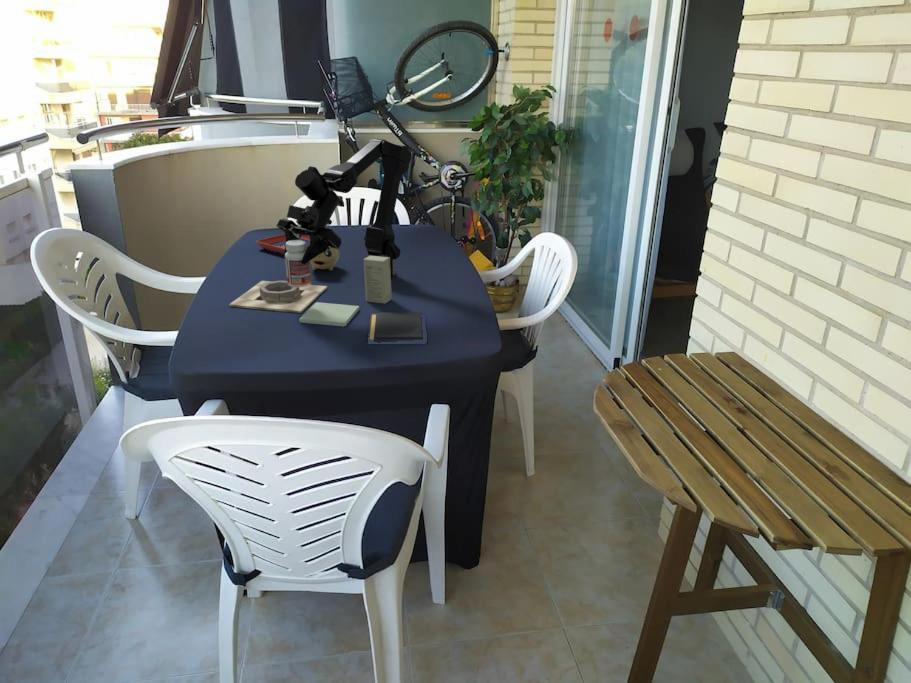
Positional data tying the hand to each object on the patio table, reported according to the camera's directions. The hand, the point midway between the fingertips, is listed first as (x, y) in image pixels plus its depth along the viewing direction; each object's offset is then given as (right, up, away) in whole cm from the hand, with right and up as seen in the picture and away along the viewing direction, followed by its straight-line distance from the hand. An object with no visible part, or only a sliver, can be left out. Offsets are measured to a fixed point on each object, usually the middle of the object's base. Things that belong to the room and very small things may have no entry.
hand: (293, 261), depth 166 cm
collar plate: (-7, -8, +14) cm, 17 cm away
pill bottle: (+1, -6, +4) cm, 7 cm away
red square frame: (-14, +11, +57) cm, 60 cm away
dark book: (+27, -18, -4) cm, 33 cm away
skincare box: (+20, -9, +13) cm, 26 cm away
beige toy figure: (0, +2, +37) cm, 37 cm away
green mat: (+9, -14, +2) cm, 17 cm away
